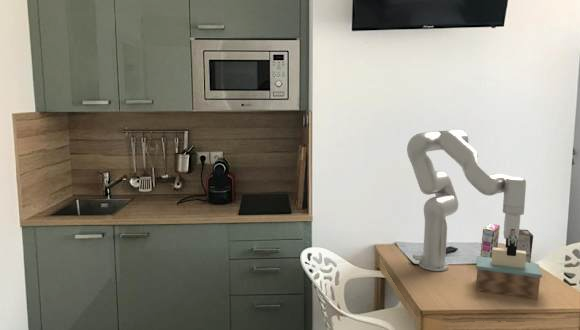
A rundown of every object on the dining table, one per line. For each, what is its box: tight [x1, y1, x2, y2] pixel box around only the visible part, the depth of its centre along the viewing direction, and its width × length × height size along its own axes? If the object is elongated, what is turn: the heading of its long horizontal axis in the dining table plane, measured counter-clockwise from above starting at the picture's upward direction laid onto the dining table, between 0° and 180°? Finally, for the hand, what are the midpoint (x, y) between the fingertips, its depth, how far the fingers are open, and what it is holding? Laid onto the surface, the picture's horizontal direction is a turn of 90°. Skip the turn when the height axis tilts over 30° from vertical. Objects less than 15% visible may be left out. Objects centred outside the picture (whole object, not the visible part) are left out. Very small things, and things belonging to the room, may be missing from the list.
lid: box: [476, 247, 543, 279], centre depth 198 cm, size 23×12×8 cm, turn 69°
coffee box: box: [516, 228, 534, 263], centre depth 222 cm, size 9×6×16 cm
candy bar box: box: [480, 223, 501, 258], centre depth 228 cm, size 11×5×16 cm, turn 144°
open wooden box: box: [475, 268, 541, 300], centre depth 199 cm, size 22×11×9 cm, turn 69°
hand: (510, 251), depth 196 cm, fingers open, 9 cm apart
